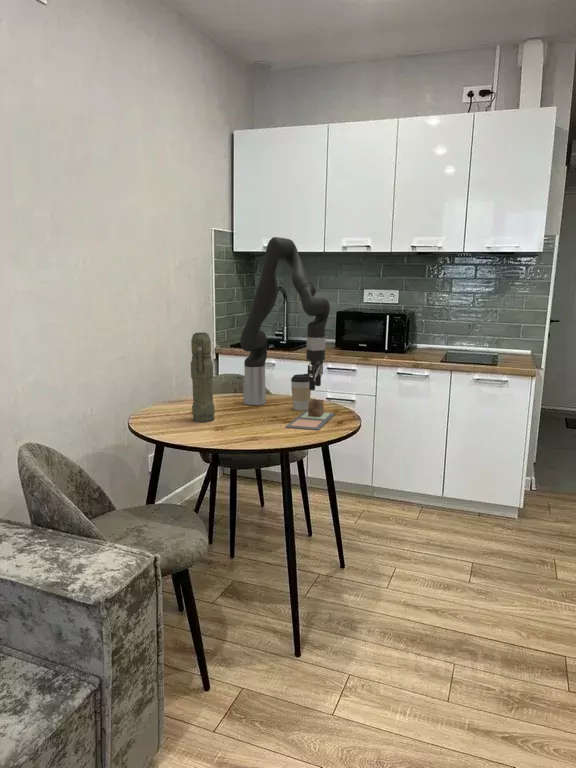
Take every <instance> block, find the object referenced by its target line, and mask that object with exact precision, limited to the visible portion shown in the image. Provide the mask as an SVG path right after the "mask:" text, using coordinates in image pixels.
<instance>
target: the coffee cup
mask: <svg viewBox="0 0 576 768" xmlns="http://www.w3.org/2000/svg"><path fill="white" fill-rule="evenodd" d="M307 375H308V373H301V374H299V373H298V374H293V375H292V377H291V379H290V383H291V385H290V386H291V399H292V405H293V407H292V409H293V410H295V411H302V412H304V411H308V402H309V401H310V400H311V395H312V394H311V393H312V390H309V380H307Z"/></svg>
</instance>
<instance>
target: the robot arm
mask: <svg viewBox="0 0 576 768" xmlns="http://www.w3.org/2000/svg"><path fill="white" fill-rule="evenodd" d="M263 259H264V260H263V265H262V269H261V273H260V278H259V281H258V285H257V287H256V289H255V293H254V296H253V297H254V298H253V301H252V305H251V308H250V311H249V315H248V317H247V320H246V322H245V325H244V327H243V329H242V332H241V335H240V340H239V341H240V343H239V344H240V348H241V349H242V350H243V351H245V352H247V353H248V352H250V353H249V355H248V357H246V358H245V359H244V382H242V390H243V391H242V392H243V393H242V394H243V401H242V402H243V404H244V405H247V406H262V405H265V404H266V361H267V358H268V338H267V335H266V333H265V332H264V331H263V330H262V329H261V327H262V324H263V322H264V321H265V319H266V318H267V317H268V316H269V315H270V314H271V312H272V310H273V309H274V306H275V305H276V304H275V303H276V301H277V298H278V295H279V287H278V282H277V277H276V270H277V267H278V264H279V261H280V262H281V261H282V262H286V263H287V264H288V266H289V267H290V269H291V281H292V284H293V286H294V289H295V290H296V291H297V294H298V295H299V297H300V301H301V306H302V309H303V311H304V312H305V315H308V316H309V317H314V320H312V321H310V322H309V323H307V329H306V330H307V333H306V334H307V335H306V354H305V355H306V358H305V359H306V360H307V361H310V364H308V365H307V374H308V375H307V380H309V390H311V391H315V390H316V387H320V386H321V385H322V384H321V383H322V377H323V376H322V375H323V374H324V361H325V360H326V325H327V322H328V318H329V315H330V308H331V305H330V303H329V300H328V299H327V298H325V297H314V296H315V295H316V294H317V288H316V286H315V284H314V283H313V281H312V279H311V278H310V276H309V274H308V272H307V271H306V269H305V267H304V263H303V261H302V259H301V256H300V254H299V251H298V248H297V246H296V244H295V242H294V241H293V240H292V239H290V238H285V237H276V236H274V237H272V238H270V240H269V241H268V243H267V245H266V248H265V255H264V258H263Z"/></svg>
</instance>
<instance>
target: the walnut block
mask: <svg viewBox="0 0 576 768" xmlns="http://www.w3.org/2000/svg"><path fill="white" fill-rule="evenodd" d="M307 411H308V416H311V417H321V416H322V415H323V412H324V399H311V398H310V401H309V402H308V410H307Z"/></svg>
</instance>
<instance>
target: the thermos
mask: <svg viewBox="0 0 576 768" xmlns="http://www.w3.org/2000/svg"><path fill="white" fill-rule="evenodd" d="M190 341H191V345H190V347H191V361H190V378H191V380H192V401H193V402H192V406H191V410H192V411H191V412H192V414H191V415H192V421H193V422H195V423H211V422H214V420H215V413H216V412H215V409H216V408H215V404H214V396H213V395H214V393H213V391H214V390H213V389H214V388H213V378H214V363H213V360H212V355H211V354H212V346H211V345H212V343H211V341H212V340H211V337H210V335H209V333H207V332H195V333H193V334H192V337H191V340H190Z"/></svg>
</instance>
